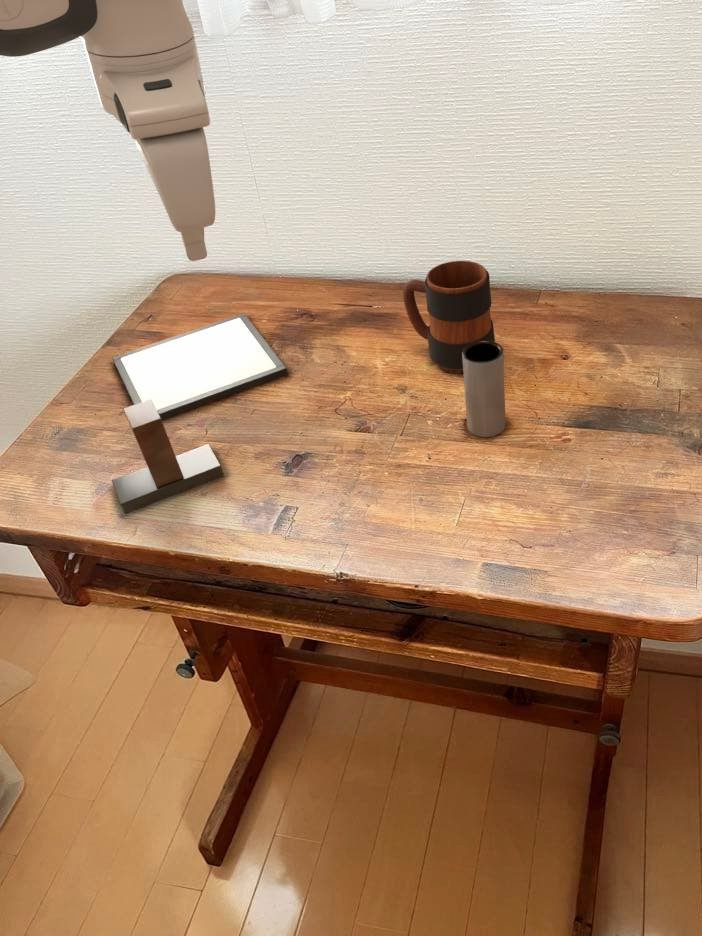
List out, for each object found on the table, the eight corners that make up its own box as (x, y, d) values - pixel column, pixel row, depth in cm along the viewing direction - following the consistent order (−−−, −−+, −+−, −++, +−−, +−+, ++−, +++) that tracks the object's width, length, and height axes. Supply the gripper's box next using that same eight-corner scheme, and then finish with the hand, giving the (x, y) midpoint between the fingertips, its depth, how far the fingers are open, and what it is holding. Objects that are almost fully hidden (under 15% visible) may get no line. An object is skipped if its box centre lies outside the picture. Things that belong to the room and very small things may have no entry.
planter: (472, 413, 101) (467, 338, 94) (509, 416, 100) (506, 341, 92) (463, 436, 98) (457, 361, 91) (501, 439, 97) (498, 363, 89)
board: (143, 426, 106) (141, 420, 106) (114, 363, 119) (111, 357, 118) (288, 374, 111) (286, 368, 111) (245, 318, 123) (243, 312, 123)
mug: (423, 331, 115) (414, 251, 107) (505, 344, 111) (502, 261, 103) (396, 365, 110) (385, 284, 102) (480, 380, 105) (476, 296, 97)
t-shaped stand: (124, 513, 95) (92, 444, 88) (115, 489, 98) (83, 421, 91) (224, 475, 98) (200, 405, 91) (212, 452, 101) (187, 384, 94)
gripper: (95, 50, 76) (136, 199, 86) (129, 125, 63) (174, 291, 73) (164, 39, 78) (196, 187, 88) (211, 110, 64) (244, 275, 74)
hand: (186, 235), depth 80 cm, fingers open, 8 cm apart
